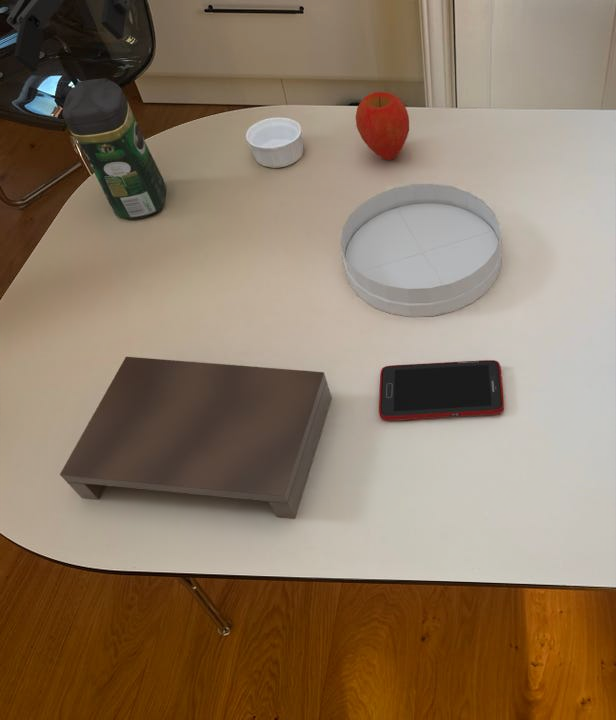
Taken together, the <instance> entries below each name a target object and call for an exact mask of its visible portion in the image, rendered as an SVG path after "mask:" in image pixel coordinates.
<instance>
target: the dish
mask: <svg viewBox="0 0 616 720" xmlns="http://www.w3.org/2000/svg"><path fill="white" fill-rule="evenodd" d="M500 229H501V228H500V222H499V220H498V218H497V216H496V214H495V211H494V210H493V209H492V208H491V207H490V206H489V205H488V204H487V203H486V202H485V200H483V199H482V198H480V197H478V196H476V195H475V194H473V193H472V192H470V191H468V190H464V189H461V188H458V187H455V186H452V185H444V184H437V183H418V184H417V183H415V184H414V183H413V184H408V185H403V186H398V187H393V188H390V189H388V190H386V191H383V192H380V193H377V194H376V195H374V196H372V197H370V198H369V199H367V200H365V201H364V202H362V203H361V204H360V205H359V206H358V207H357V208H355V210H354V211H352V213H350V214H349V216H348V218H347V220H346V221H345V224H344V225H343V227H342V230H341V238H340V245H341V249H342V253H343V254H342V261H343V262H342V263H343V265H344V269H345V272H346V276H347V280H348V284H349V285H350V287H351V288H352V290H353V291H354V292H355V294H356V295H357V296H358V297H359V298H360V299H362V300H363V301H364V302H366V303H367V304H368V305H370V306H371V307H373V308H375V309H378V310H380V311H383V312H385V313H388V314H391V315H397V316H404V317H409V318H418V317H419V318H421V317H423V318H424V317H436V316H440V315H444V314H450V313H453V312H455V311H458V310H460V309H463V308H464V307H467V306H469V305H471V304H473V303H474V302H476V301H477V300H479V298H481V297H482V296H484V295H485V294H487V292H488V291H489V290H490V288H491V287H492V286H493V284H494V283H495V282H496V280H497V279H498V276H499V273H500V270H501V267H502V254H503V253H502V252H503V251H502V238H501V231H500Z"/></svg>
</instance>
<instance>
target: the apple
mask: <svg viewBox="0 0 616 720" xmlns="http://www.w3.org/2000/svg"><path fill="white" fill-rule="evenodd" d="M355 112H356V113H355V125H356V126H355V127H356V128H357V130H358V133H359V136H360V137H361V140H362V141H363V142H364V144H365V145H366V146H367V147H368V149H370V150H371V151H372V152H373V153H374V154H375V155H377V156H378V157H379V158H381V159H382V160H385V161H387V160H394V159H396V158H397V156H398V155H399V153H400V152H401V151H402V149H403V147H404V146H405V143H406V141H407V138H408V135H409V132H410V117H409V113H408V110H407V107H406V106H405V103H404V102H403V101H402V100H401V98H400V97H398V96H397V95H396V94H393V93H390V92H383V91H377V92H372V93H369V94H368V95H366V96H364V98H362V100H361V101H360V102H359V104H358V106H357V108H356V111H355Z"/></svg>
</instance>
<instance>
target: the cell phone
mask: <svg viewBox="0 0 616 720" xmlns="http://www.w3.org/2000/svg"><path fill="white" fill-rule="evenodd" d="M378 393H379V394H378V395H379V396H378V415H379V418H380V419H381V420H382V421H403V420H404V421H405V420H418V419H438V418H451V417H473V416H490V415H491V416H492V415H499V414H502V413H503V412H504V409H505V399H504V388H503V377H502V369H501V363H500V362H499V361H497V360H496V359H494V360H493V359H483V360H482V359H481V360H465V361H464V360H463V361H448V362H447V361H445V362H430V363H429V362H428V363H411V364H409V363H407V364H393V365H385V366H383V367H381V370H380V373H379V391H378Z"/></svg>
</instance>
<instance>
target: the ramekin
mask: <svg viewBox="0 0 616 720" xmlns="http://www.w3.org/2000/svg"><path fill="white" fill-rule="evenodd" d="M302 132H303V131H302V126H301V125H300V124H299V122H298V121H296V120H294V119H292V118H288V117H270V118H265V119H262V120H259V121H257V122H255V123H253V124H252V125H251V126H250V127H249V128H248V129H247V131H246V133H245V140H246V142H247V143H248V145H249V147H250V150H251V152H252V155H253V156H254V159H255V161H256V162H257V163H258V164H259V165H261V166H263V167H267V168H271V169H272V168H273V169H274V168H275V169H276V168H277V169H278V168H279V169H280V168H284V167H288V166H291V165H293V164H295V163H296V162H298V161H299V160H300V159H301V157H302V156H303V154H304V145H303V137H302V135H303V133H302Z"/></svg>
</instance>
